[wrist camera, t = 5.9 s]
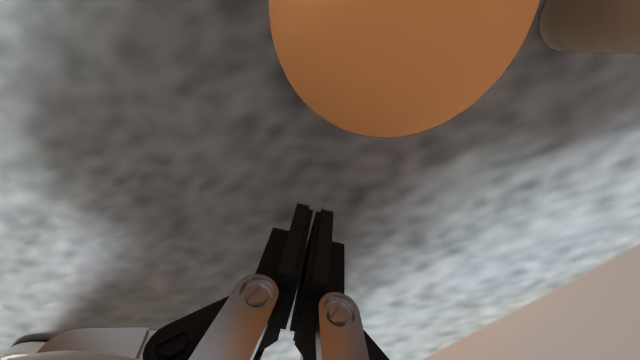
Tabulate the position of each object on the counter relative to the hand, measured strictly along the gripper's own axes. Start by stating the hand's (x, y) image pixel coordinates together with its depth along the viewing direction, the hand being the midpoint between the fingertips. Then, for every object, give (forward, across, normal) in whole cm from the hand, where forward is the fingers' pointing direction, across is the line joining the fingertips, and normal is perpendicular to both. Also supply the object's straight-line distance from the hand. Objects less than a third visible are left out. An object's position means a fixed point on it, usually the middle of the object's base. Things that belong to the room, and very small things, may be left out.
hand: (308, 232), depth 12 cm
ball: (-2, 0, -9) cm, 9 cm away
